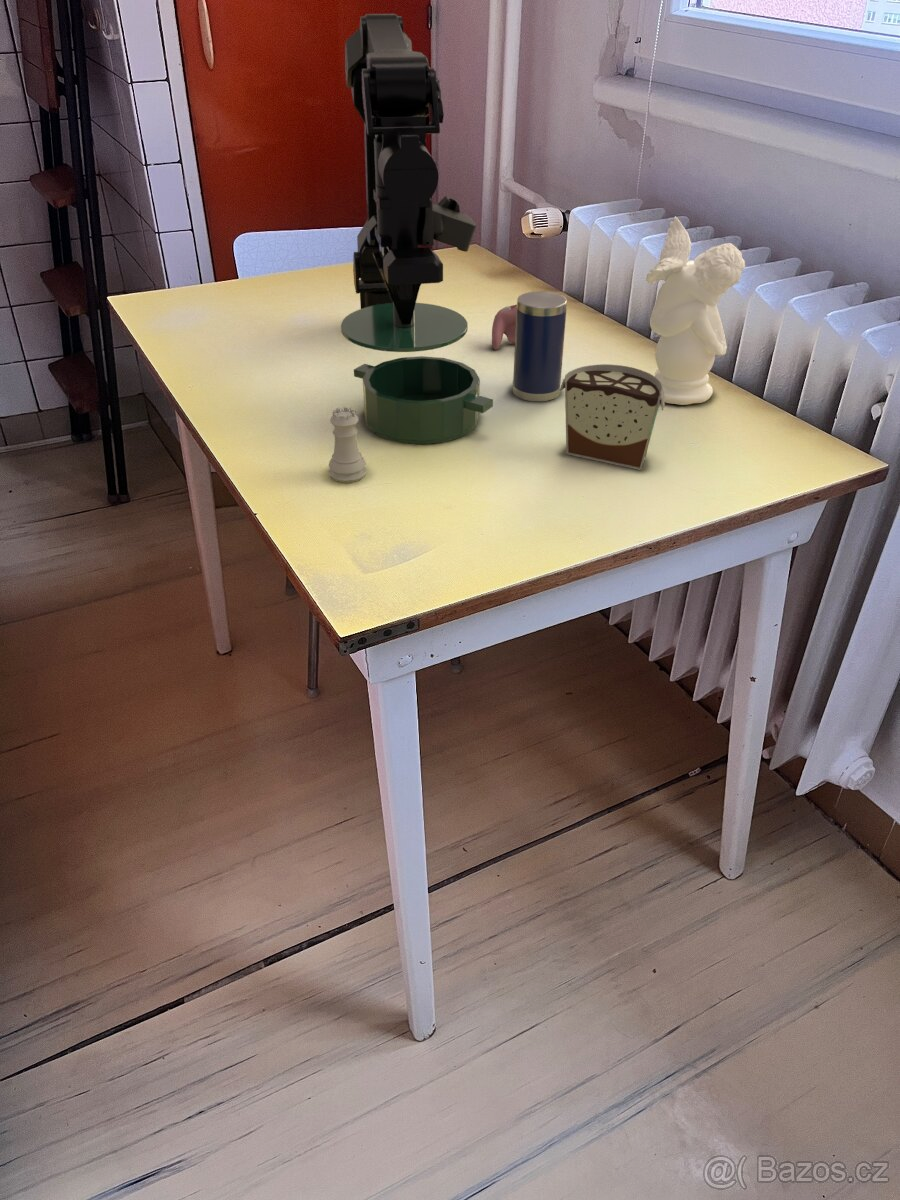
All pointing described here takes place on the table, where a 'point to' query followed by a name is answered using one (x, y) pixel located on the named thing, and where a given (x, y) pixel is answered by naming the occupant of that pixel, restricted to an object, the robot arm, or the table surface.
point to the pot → (421, 399)
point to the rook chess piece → (346, 448)
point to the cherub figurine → (690, 313)
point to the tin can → (539, 345)
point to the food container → (611, 413)
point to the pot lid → (404, 328)
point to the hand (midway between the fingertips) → (404, 319)
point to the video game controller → (504, 325)
